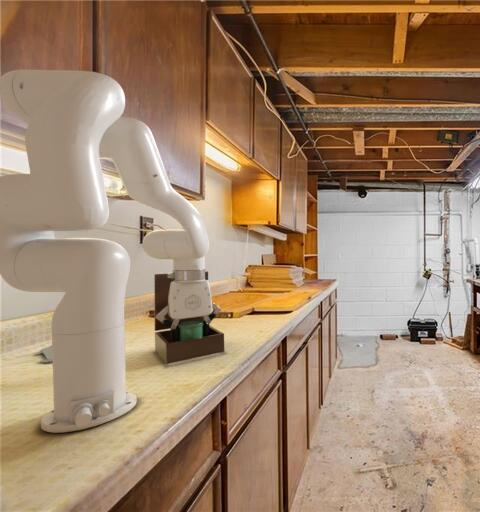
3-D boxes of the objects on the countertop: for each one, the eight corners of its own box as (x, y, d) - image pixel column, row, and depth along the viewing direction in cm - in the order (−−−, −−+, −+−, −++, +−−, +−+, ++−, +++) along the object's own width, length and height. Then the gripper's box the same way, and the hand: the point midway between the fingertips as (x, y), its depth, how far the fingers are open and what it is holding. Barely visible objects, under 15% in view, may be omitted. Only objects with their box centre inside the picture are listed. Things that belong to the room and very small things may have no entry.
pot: (206, 351, 88) (206, 323, 88) (180, 357, 83) (179, 327, 83) (200, 346, 93) (200, 319, 92) (174, 351, 88) (174, 323, 88)
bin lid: (208, 271, 98) (207, 271, 98) (154, 274, 88) (154, 273, 89) (207, 323, 99) (206, 322, 100) (155, 331, 89) (154, 330, 90)
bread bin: (224, 354, 88) (224, 333, 88) (166, 366, 79) (166, 344, 79) (207, 342, 99) (207, 324, 99) (155, 352, 90) (154, 332, 90)
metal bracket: (96, 323, 100) (108, 330, 91) (103, 339, 101) (116, 348, 92) (32, 346, 89) (38, 357, 80) (41, 364, 90) (48, 377, 81)
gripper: (154, 279, 79) (155, 350, 79) (227, 275, 91) (228, 336, 91) (148, 277, 84) (150, 343, 85) (218, 273, 96) (219, 331, 97)
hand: (190, 339), depth 88 cm, fingers closed on pot, 6 cm apart
